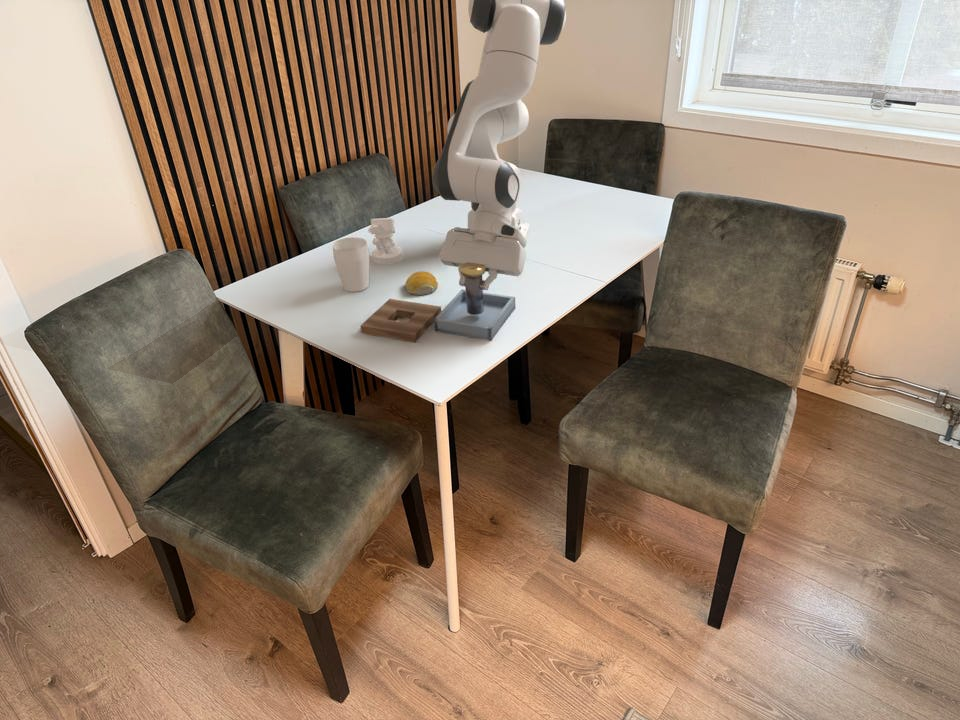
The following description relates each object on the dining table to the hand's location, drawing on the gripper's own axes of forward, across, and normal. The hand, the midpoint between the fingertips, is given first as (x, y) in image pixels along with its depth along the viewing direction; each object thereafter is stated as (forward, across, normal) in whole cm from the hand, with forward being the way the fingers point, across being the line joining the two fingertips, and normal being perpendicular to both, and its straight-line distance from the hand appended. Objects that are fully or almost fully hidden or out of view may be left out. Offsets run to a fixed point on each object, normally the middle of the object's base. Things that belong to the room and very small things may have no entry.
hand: (473, 287), depth 153 cm
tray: (+6, 0, +6) cm, 9 cm away
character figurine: (-11, -39, +24) cm, 47 cm away
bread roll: (-1, -20, +14) cm, 25 cm away
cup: (+2, -37, +10) cm, 39 cm away
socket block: (+11, -16, +1) cm, 19 cm away
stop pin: (+4, 0, +5) cm, 6 cm away
